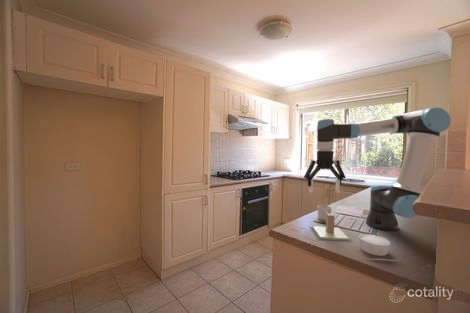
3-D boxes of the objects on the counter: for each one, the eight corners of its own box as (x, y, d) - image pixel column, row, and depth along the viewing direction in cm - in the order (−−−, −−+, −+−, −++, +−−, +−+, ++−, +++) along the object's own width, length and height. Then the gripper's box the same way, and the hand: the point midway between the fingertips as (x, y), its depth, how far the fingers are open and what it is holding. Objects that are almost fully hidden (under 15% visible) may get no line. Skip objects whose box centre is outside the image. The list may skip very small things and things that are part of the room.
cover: (338, 229, 112) (338, 210, 111) (349, 240, 99) (349, 219, 98) (312, 228, 113) (313, 209, 113) (320, 238, 100) (320, 218, 100)
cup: (333, 224, 120) (334, 210, 120) (319, 223, 122) (319, 209, 122) (329, 218, 131) (329, 205, 131) (315, 217, 133) (316, 204, 132)
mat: (339, 229, 113) (340, 228, 113) (353, 243, 97) (353, 242, 97) (309, 227, 115) (309, 227, 115) (317, 241, 99) (317, 240, 99)
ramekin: (356, 243, 97) (357, 232, 97) (385, 247, 93) (386, 236, 93) (360, 254, 87) (361, 242, 87) (393, 260, 83) (393, 247, 83)
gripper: (345, 150, 109) (344, 190, 110) (297, 150, 108) (297, 191, 109) (353, 150, 102) (352, 193, 103) (303, 150, 101) (302, 194, 102)
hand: (324, 192), depth 106 cm, fingers open, 13 cm apart
